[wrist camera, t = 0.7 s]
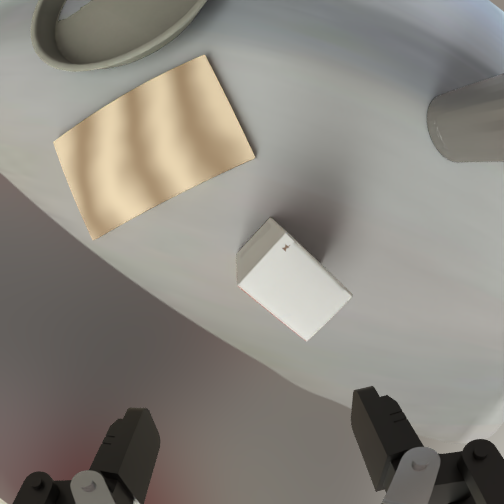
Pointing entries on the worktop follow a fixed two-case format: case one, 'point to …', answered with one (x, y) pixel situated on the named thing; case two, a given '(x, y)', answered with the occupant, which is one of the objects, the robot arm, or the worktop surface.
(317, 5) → the worktop surface
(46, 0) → the cake pan
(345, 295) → the small box
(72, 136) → the maple board
